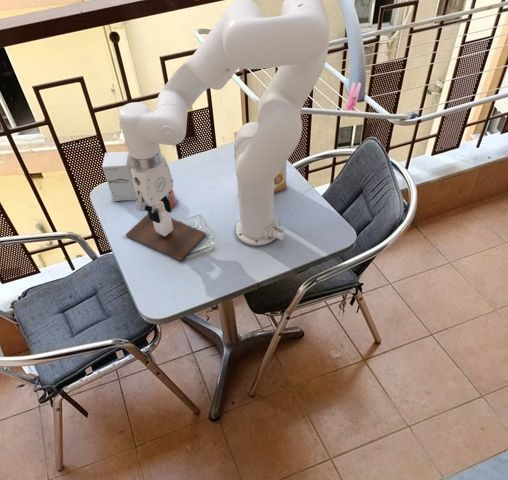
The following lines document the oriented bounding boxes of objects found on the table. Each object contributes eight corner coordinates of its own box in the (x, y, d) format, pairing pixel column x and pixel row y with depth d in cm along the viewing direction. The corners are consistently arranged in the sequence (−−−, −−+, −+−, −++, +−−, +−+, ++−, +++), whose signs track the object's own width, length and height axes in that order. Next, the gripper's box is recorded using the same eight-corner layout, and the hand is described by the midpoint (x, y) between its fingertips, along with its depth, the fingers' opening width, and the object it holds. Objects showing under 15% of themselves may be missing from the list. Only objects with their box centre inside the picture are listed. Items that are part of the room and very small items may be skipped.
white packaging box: (113, 202, 144) (100, 166, 134) (116, 186, 148) (104, 151, 138) (136, 200, 144) (126, 165, 134) (139, 185, 148) (129, 150, 138)
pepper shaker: (165, 237, 131) (158, 211, 124) (154, 232, 133) (147, 205, 125) (174, 229, 133) (168, 203, 125) (164, 224, 135) (157, 197, 127)
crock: (180, 200, 144) (178, 189, 140) (164, 215, 140) (162, 204, 137) (160, 192, 146) (157, 181, 143) (144, 206, 142) (141, 196, 139)
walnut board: (206, 235, 134) (205, 232, 133) (181, 261, 129) (180, 259, 128) (152, 212, 141) (151, 210, 140) (126, 236, 135) (125, 234, 134)
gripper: (135, 180, 108) (152, 238, 123) (178, 143, 116) (189, 202, 131) (111, 171, 111) (130, 229, 126) (155, 135, 119) (168, 194, 134)
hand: (160, 215), depth 128 cm, fingers closed on pepper shaker, 4 cm apart
